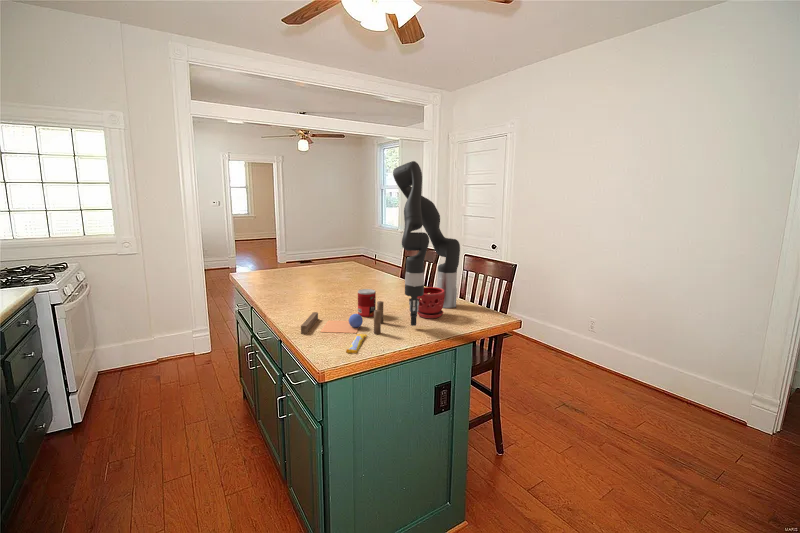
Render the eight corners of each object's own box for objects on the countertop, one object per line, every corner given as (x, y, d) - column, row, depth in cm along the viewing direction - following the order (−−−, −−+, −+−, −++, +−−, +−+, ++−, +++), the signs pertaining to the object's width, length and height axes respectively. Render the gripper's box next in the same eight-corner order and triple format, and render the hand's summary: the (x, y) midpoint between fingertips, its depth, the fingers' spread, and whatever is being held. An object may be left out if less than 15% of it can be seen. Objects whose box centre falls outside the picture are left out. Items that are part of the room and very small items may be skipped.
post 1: (383, 321, 160) (383, 301, 158) (382, 323, 157) (383, 302, 155) (377, 321, 160) (377, 301, 158) (376, 323, 157) (376, 302, 156)
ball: (353, 309, 154) (346, 321, 154) (352, 313, 148) (345, 325, 149) (365, 316, 154) (359, 327, 155) (364, 319, 149) (358, 332, 149)
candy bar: (357, 355, 126) (357, 350, 126) (344, 355, 126) (344, 349, 126) (367, 337, 142) (367, 333, 142) (356, 337, 143) (356, 332, 143)
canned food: (373, 318, 165) (373, 293, 163) (355, 316, 166) (355, 292, 164) (377, 313, 172) (377, 289, 170) (360, 311, 174) (360, 288, 172)
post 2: (380, 332, 147) (381, 309, 146) (380, 334, 145) (380, 311, 143) (374, 331, 147) (374, 309, 146) (373, 334, 145) (373, 311, 143)
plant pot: (427, 309, 178) (428, 285, 176) (449, 316, 169) (450, 290, 167) (408, 315, 169) (408, 289, 167) (430, 322, 160) (431, 294, 158)
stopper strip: (318, 319, 162) (317, 312, 161) (306, 333, 144) (306, 326, 144) (313, 318, 162) (313, 312, 161) (301, 333, 144) (300, 326, 144)
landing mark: (361, 321, 159) (361, 321, 159) (356, 333, 146) (356, 332, 145) (328, 320, 160) (328, 320, 160) (320, 332, 146) (320, 331, 146)
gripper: (405, 279, 155) (404, 319, 158) (404, 286, 142) (403, 330, 145) (423, 279, 155) (422, 320, 158) (424, 287, 142) (423, 331, 145)
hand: (413, 325), depth 151 cm, fingers closed
